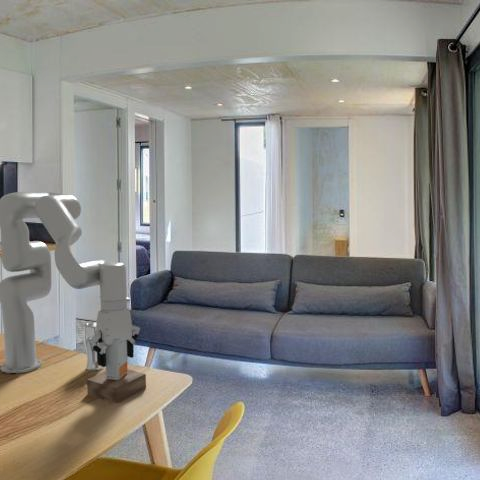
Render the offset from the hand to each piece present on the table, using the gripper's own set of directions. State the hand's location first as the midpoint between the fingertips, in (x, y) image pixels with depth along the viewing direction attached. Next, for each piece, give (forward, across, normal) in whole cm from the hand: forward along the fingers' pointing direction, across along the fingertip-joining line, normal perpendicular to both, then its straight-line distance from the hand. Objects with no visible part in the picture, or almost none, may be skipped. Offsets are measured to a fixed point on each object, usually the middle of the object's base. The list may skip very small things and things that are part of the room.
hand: (116, 361), depth 144 cm
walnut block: (+10, 0, 0) cm, 10 cm away
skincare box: (+5, 0, 0) cm, 5 cm away
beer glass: (+10, -7, -22) cm, 25 cm away
